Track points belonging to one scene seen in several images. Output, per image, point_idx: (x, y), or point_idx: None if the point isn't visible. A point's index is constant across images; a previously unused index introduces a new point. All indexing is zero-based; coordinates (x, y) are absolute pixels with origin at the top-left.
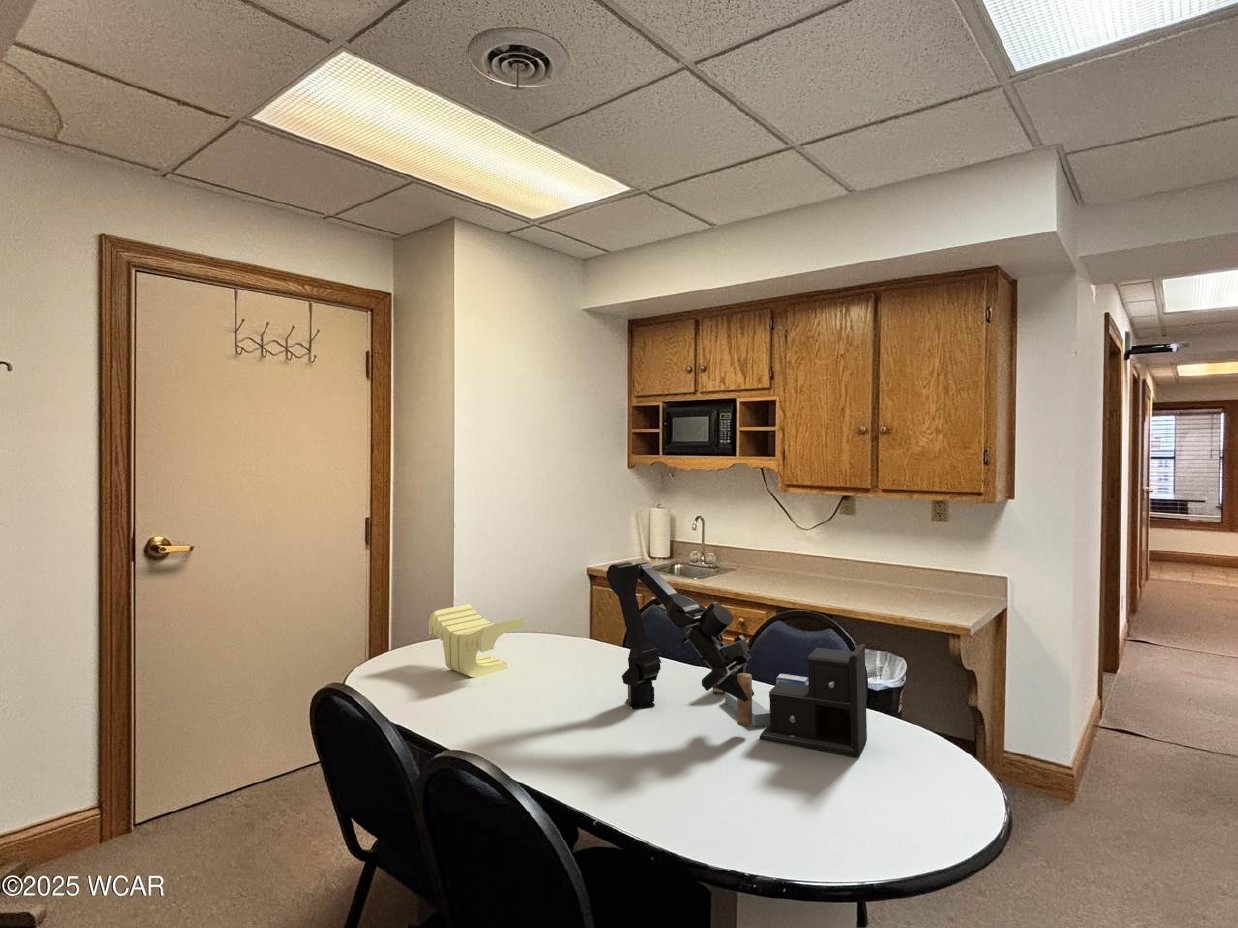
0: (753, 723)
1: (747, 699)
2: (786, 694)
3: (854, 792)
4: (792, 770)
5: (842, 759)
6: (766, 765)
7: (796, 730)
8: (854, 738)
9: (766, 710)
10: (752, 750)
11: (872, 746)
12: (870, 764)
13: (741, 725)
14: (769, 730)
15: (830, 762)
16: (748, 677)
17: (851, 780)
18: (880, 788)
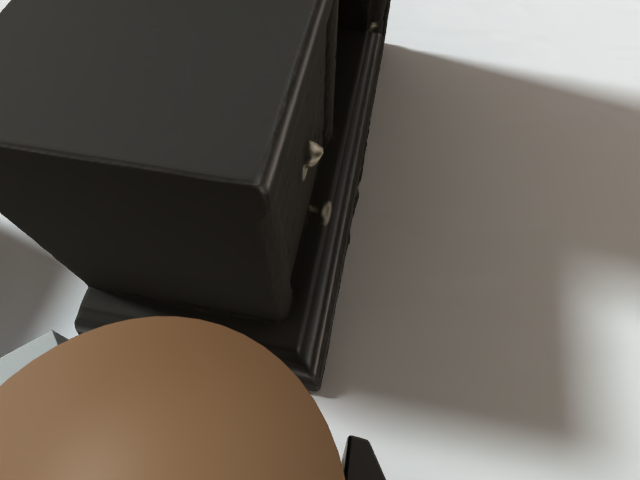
0: None
1: (366, 442)
2: (301, 58)
3: (635, 54)
4: (597, 216)
5: (411, 79)
6: (617, 320)
7: (310, 182)
8: None
9: (5, 363)
10: (481, 413)
11: None
12: (415, 21)
13: None
14: (280, 326)
15: (453, 107)
16: (300, 381)
17: (559, 60)
18: (565, 8)
